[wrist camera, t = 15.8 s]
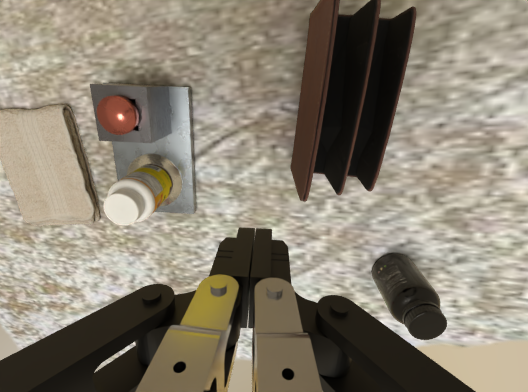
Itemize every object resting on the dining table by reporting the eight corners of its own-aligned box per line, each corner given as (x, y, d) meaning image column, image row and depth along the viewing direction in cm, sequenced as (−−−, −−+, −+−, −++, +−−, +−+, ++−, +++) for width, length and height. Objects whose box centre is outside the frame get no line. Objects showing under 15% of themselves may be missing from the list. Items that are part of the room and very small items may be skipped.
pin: (130, 92, 37) (93, 94, 29) (160, 94, 37) (132, 96, 29) (133, 124, 38) (100, 133, 31) (163, 125, 38) (136, 135, 31)
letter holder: (290, 169, 42) (297, 208, 29) (309, 13, 35) (332, -30, 21) (357, 175, 42) (395, 217, 29) (391, 20, 35) (463, -18, 21)
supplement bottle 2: (370, 287, 49) (399, 347, 38) (371, 254, 47) (401, 307, 35) (411, 284, 48) (452, 344, 37) (414, 250, 46) (459, 303, 35)
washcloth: (38, 222, 47) (23, 231, 44) (-8, 109, 40) (-29, 111, 37) (108, 218, 46) (97, 227, 43) (73, 102, 40) (57, 104, 37)
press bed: (109, 82, 38) (66, 82, 30) (191, 87, 38) (169, 88, 30) (126, 205, 45) (95, 232, 37) (196, 209, 45) (179, 236, 37)
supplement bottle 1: (152, 204, 43) (117, 239, 33) (128, 173, 41) (84, 200, 31) (182, 188, 41) (155, 219, 32) (159, 155, 40) (124, 178, 30)
